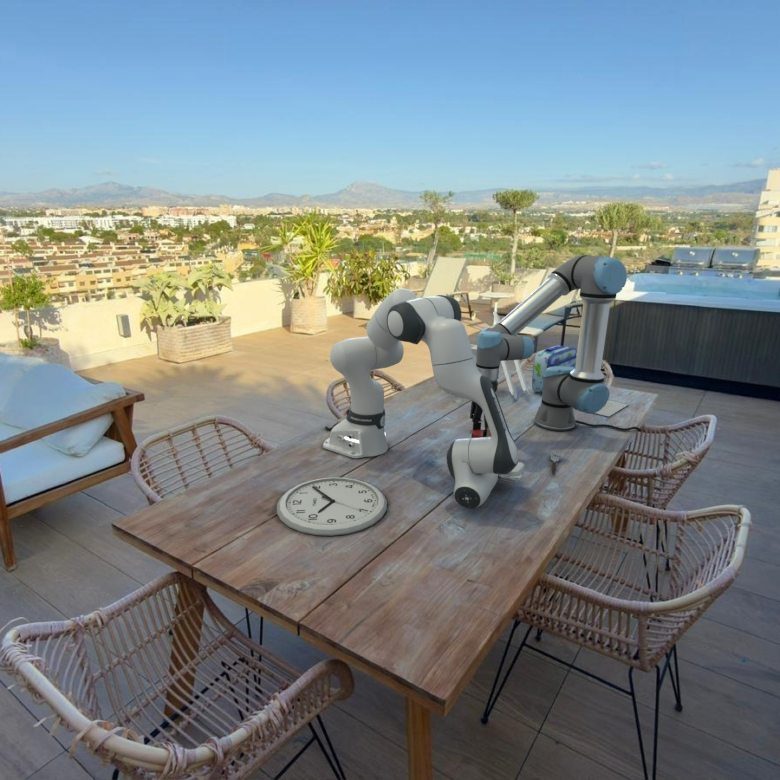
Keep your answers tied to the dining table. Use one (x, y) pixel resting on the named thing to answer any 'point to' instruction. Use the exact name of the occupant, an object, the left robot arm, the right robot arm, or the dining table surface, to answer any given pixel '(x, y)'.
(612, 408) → the invitation card
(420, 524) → the dining table surface
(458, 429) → the dining table surface
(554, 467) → the fork
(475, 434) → the lid
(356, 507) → the wall clock
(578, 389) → the right robot arm
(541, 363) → the lunch box
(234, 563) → the dining table surface
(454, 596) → the dining table surface
